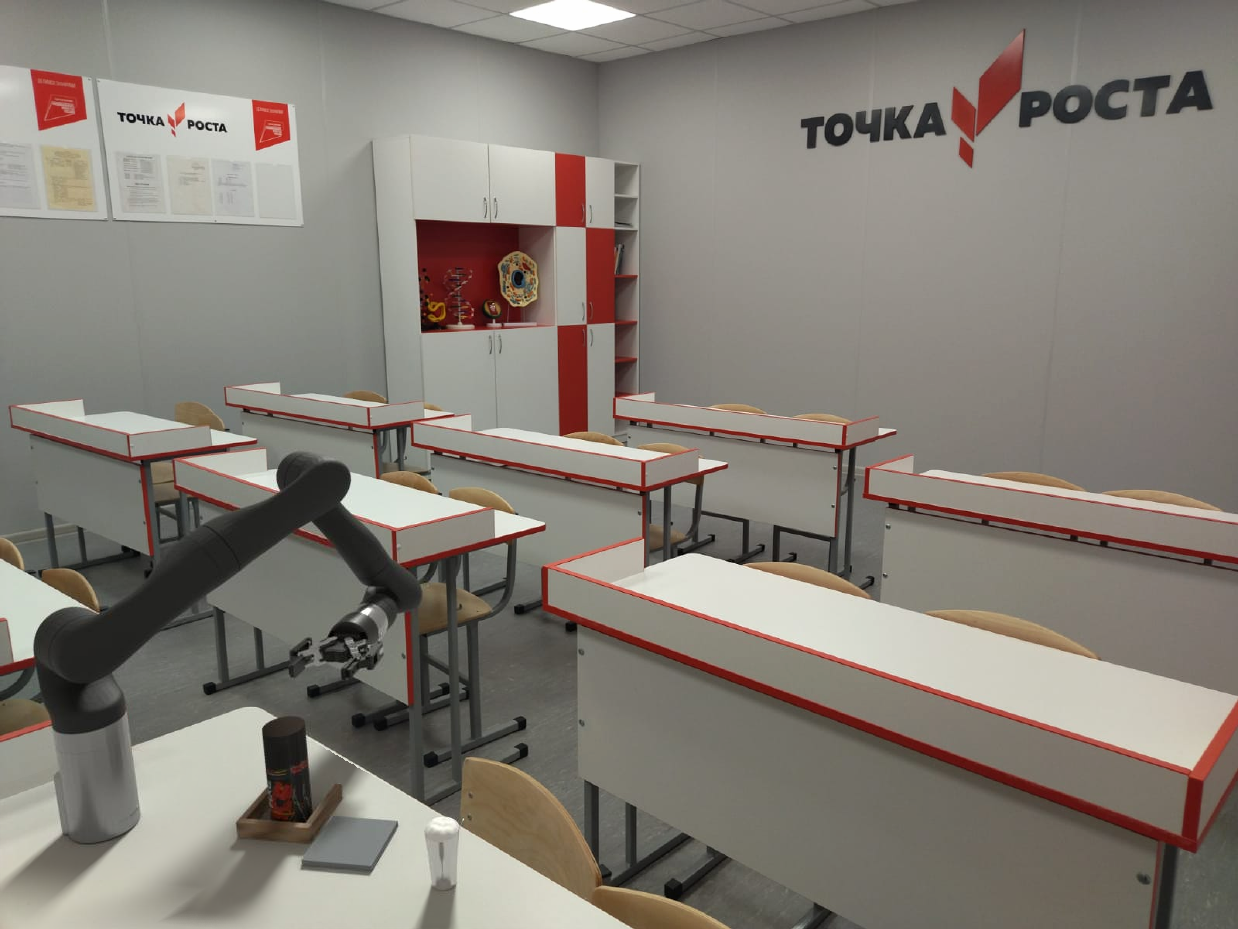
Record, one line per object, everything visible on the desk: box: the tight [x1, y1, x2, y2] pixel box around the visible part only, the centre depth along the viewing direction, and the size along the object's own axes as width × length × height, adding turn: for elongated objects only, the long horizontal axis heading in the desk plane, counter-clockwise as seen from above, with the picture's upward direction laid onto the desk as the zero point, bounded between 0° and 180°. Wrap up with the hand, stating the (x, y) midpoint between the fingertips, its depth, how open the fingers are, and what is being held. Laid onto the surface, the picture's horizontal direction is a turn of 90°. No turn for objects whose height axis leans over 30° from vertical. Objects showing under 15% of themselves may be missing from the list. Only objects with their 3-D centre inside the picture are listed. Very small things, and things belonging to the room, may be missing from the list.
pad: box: [301, 815, 399, 872], centre depth 125 cm, size 10×10×1 cm
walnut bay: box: [235, 783, 344, 845], centre depth 131 cm, size 11×11×2 cm
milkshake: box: [423, 816, 465, 891], centre depth 117 cm, size 5×5×10 cm
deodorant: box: [261, 715, 314, 823], centre depth 130 cm, size 6×6×15 cm
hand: (317, 674), depth 139 cm, fingers open, 8 cm apart
